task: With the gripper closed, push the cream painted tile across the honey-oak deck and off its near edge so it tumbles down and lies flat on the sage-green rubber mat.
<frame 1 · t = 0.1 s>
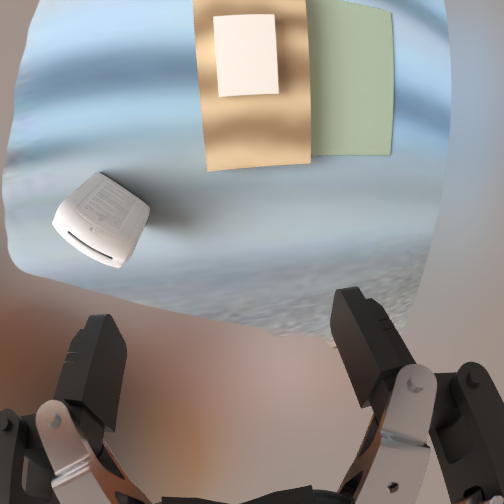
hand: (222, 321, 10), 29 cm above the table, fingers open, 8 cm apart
cream tile: (244, 55, 25), point 4 cm above the table, touching oak deck
sage mat: (351, 76, 30), on the table
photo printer: (118, 197, 36), on the table
oak deck: (250, 73, 30), on the table
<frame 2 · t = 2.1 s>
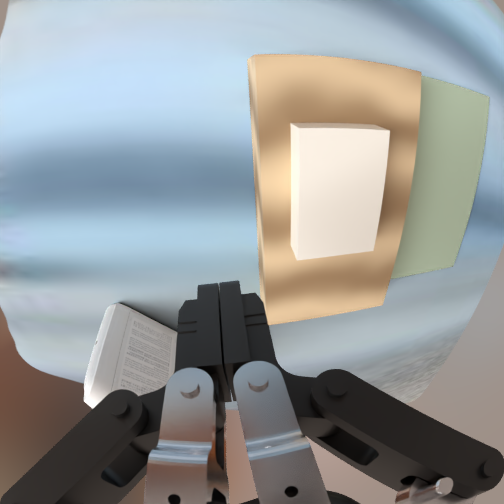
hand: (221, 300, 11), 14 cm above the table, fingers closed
cream tile: (332, 186, 19), point 4 cm above the table, touching oak deck
sage mat: (437, 186, 25), on the table
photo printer: (146, 326, 31), on the table
oak deck: (325, 190, 24), on the table
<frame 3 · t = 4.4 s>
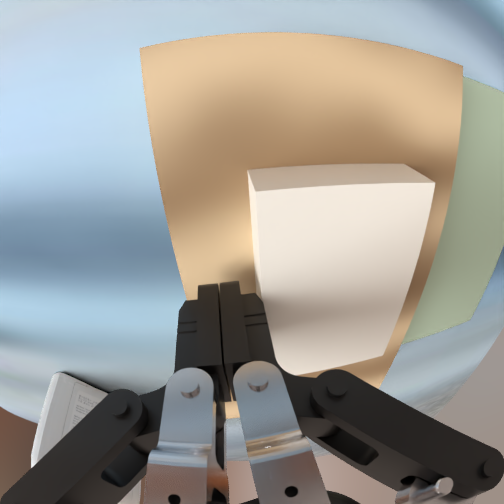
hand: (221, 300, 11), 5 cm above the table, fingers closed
cream tile: (326, 269, 12), point 4 cm above the table, touching gripper, oak deck
sage mat: (464, 233, 17), on the table
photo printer: (98, 393, 23), on the table
oak deck: (302, 254, 16), on the table
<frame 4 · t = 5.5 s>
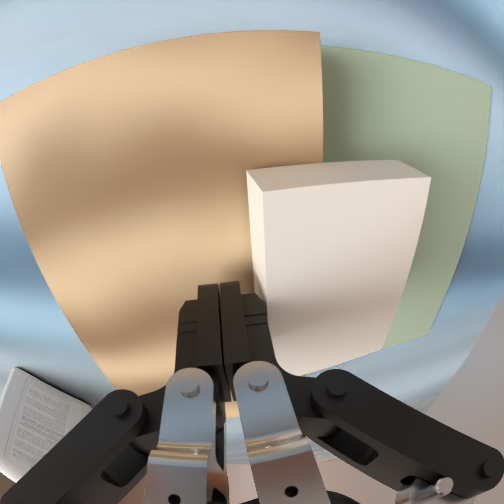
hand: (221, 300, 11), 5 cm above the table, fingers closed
cream tile: (324, 267, 12), point 4 cm above the table, tilted 6°
sage mat: (398, 240, 17), on the table
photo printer: (51, 389, 23), on the table
oak deck: (187, 267, 16), on the table
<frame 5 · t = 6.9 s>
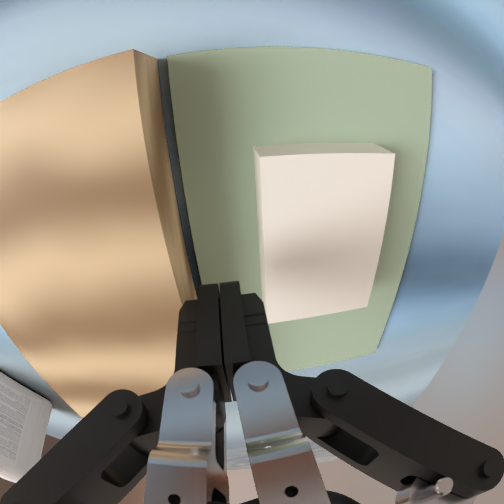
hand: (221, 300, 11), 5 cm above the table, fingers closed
cream tile: (327, 248, 13), point 2 cm above the table, tilted 180°, touching sage mat
sage mat: (314, 253, 16), on the table
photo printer: (16, 383, 22), on the table
oak deck: (95, 279, 15), on the table
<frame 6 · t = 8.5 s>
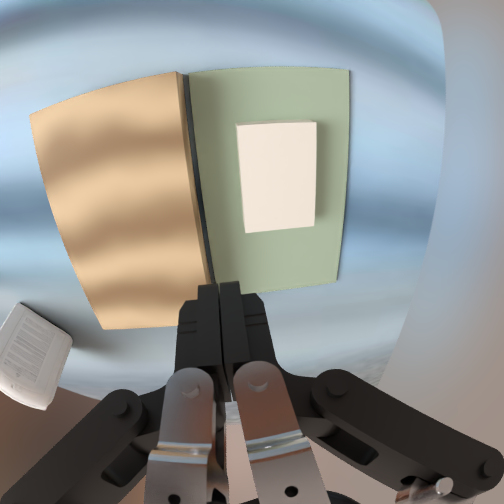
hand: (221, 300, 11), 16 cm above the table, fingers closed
cream tile: (279, 179, 22), point 2 cm above the table, tilted 180°, touching sage mat
sage mat: (276, 191, 25), on the table
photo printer: (42, 323, 31), on the table
oak deck: (133, 208, 25), on the table
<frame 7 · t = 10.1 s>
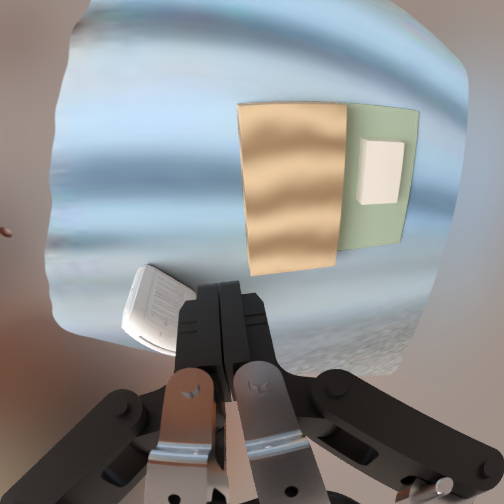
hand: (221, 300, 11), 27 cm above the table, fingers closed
cream tile: (383, 173, 35), point 2 cm above the table, tilted 180°, touching sage mat
sage mat: (375, 180, 38), on the table
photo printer: (165, 283, 44), on the table
oak deck: (288, 184, 37), on the table
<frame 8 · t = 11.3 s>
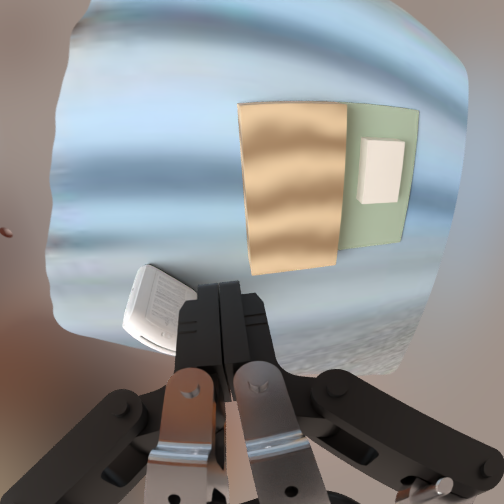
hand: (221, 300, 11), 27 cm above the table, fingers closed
cream tile: (384, 172, 35), point 2 cm above the table, tilted 180°, touching sage mat
sage mat: (375, 180, 38), on the table
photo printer: (166, 283, 44), on the table
oak deck: (289, 184, 37), on the table
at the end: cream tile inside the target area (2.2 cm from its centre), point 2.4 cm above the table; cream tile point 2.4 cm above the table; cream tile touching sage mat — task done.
